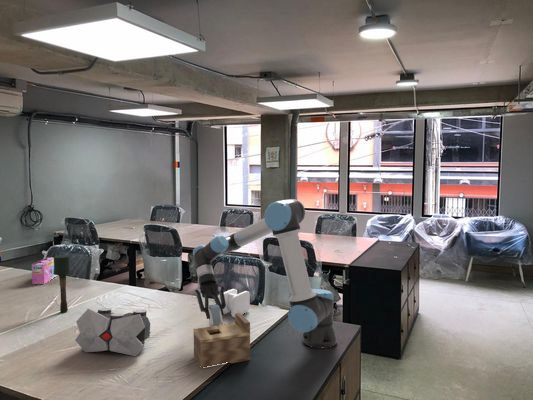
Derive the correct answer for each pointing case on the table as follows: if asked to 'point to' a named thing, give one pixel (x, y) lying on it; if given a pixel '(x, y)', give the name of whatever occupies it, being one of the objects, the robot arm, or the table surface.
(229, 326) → the tan holed block
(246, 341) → the open wooden box
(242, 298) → the cable organizer
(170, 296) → the table surface
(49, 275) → the gum box
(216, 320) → the blue-gray rectangular block
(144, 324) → the electronic device
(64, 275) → the stick grenade
